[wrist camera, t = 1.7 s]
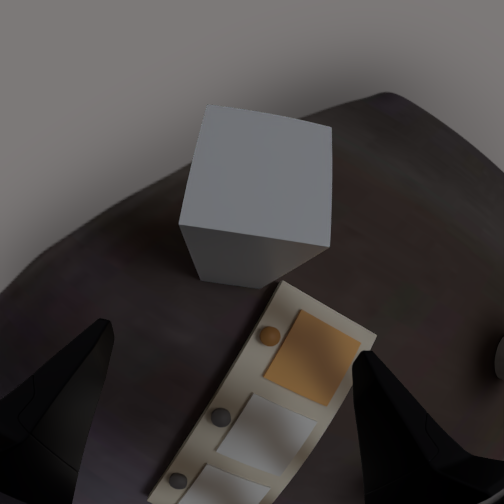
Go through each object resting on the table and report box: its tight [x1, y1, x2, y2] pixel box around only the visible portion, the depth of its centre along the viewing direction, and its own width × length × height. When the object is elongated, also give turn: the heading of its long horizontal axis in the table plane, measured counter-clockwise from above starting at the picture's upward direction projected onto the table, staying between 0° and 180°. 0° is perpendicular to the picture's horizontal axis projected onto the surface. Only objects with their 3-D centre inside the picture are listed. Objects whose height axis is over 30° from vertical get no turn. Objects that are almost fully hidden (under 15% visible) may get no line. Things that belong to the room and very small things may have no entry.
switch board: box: [147, 281, 377, 504], centre depth 19 cm, size 22×9×2 cm, turn 150°
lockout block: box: [179, 105, 332, 289], centre depth 16 cm, size 4×4×14 cm
